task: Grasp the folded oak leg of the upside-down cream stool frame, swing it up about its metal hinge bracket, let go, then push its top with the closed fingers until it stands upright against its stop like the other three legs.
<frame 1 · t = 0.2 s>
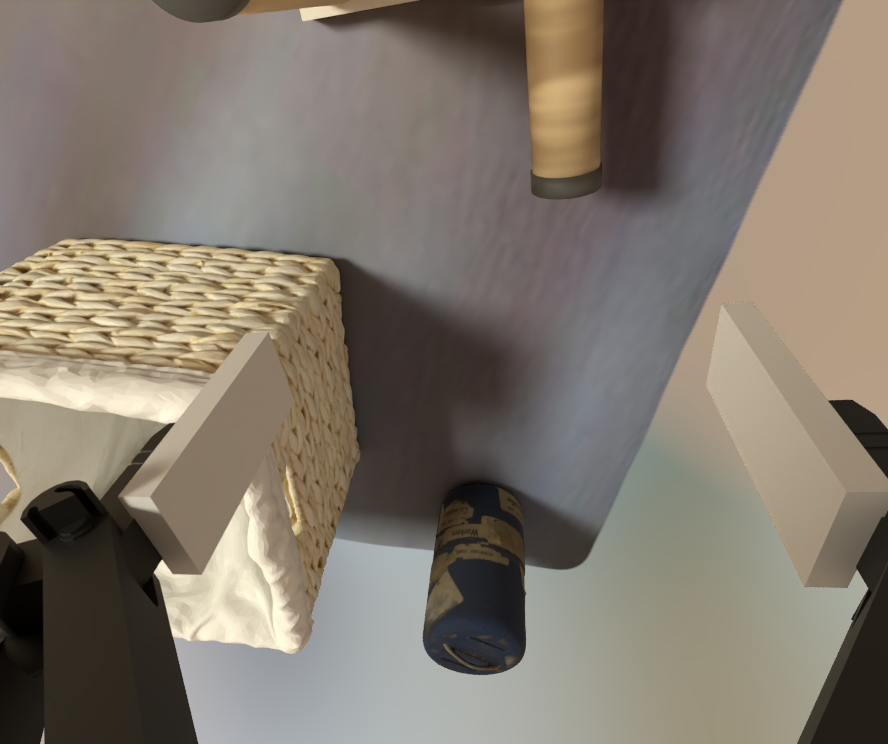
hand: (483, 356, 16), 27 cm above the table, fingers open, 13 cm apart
basket: (228, 359, 52), on the table
hinged leg: (564, 52, 28), point 7 cm above the table, hinge at 0.0°
canister: (481, 504, 61), on the table
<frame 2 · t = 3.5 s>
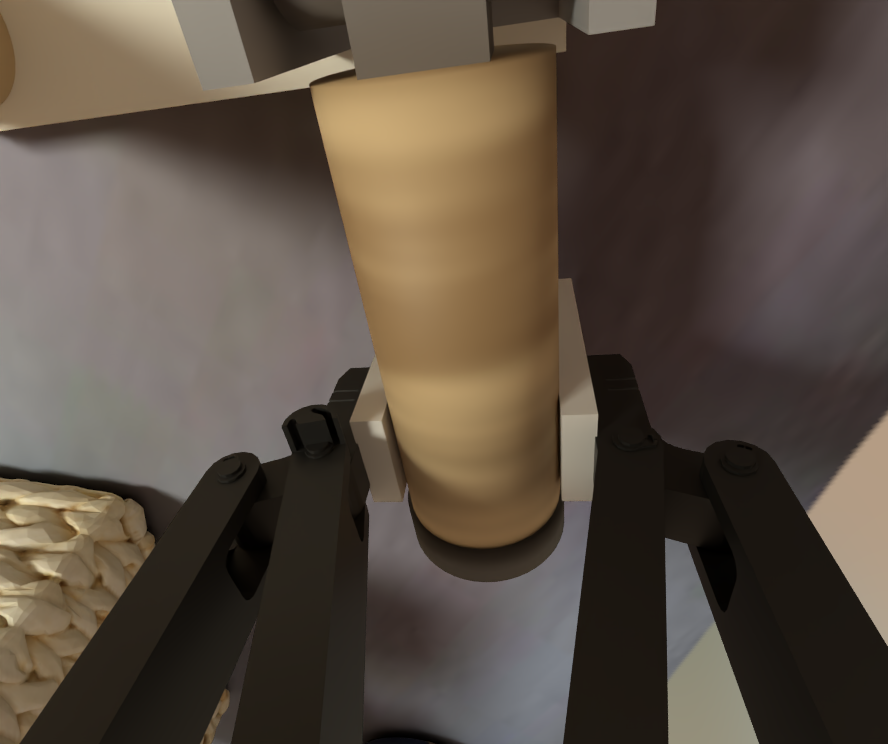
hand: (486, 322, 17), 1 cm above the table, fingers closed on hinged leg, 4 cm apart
basket: (13, 584, 34), on the table
hinged leg: (458, 283, 11), point 6 cm above the table, hinge at 0.0°, touching gripper
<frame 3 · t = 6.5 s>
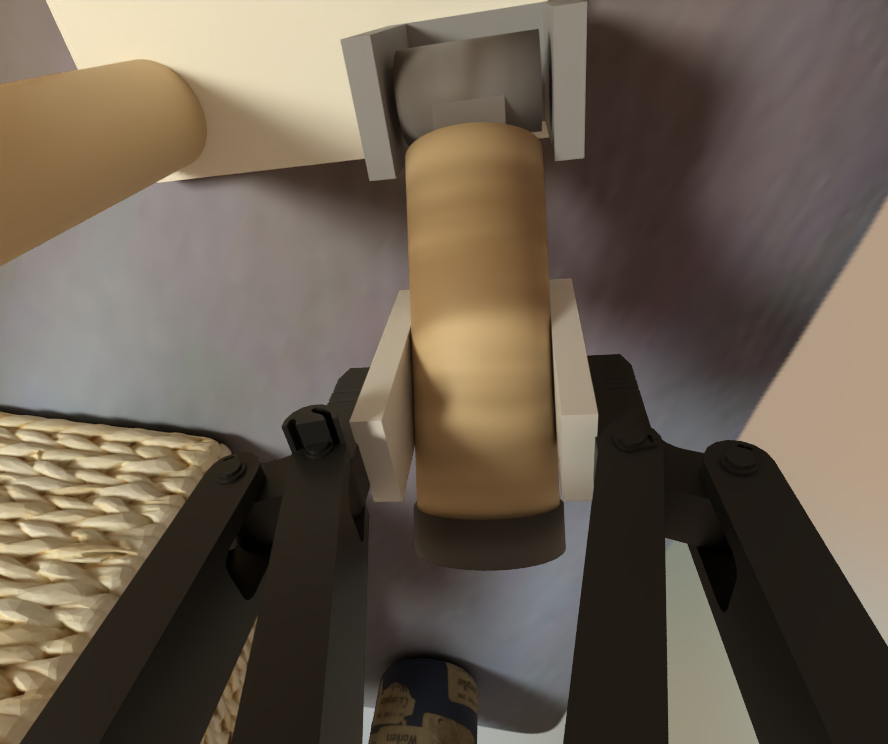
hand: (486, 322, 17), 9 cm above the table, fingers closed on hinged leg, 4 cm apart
basket: (110, 523, 43), on the table
hinged leg: (479, 291, 15), point 10 cm above the table, hinge at 38.0°, touching gripper
canister: (431, 671, 51), on the table
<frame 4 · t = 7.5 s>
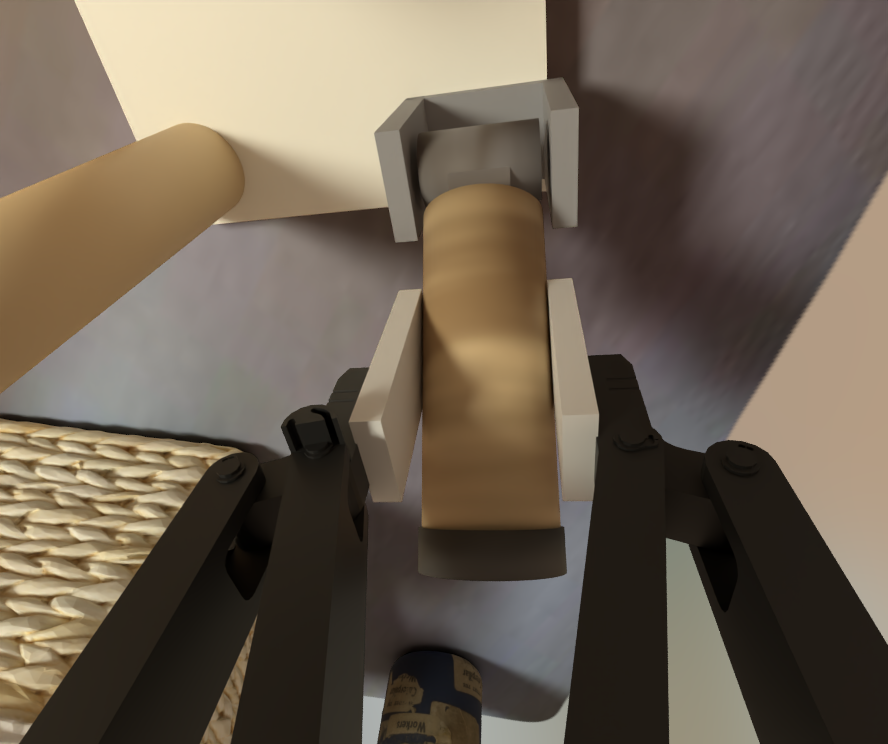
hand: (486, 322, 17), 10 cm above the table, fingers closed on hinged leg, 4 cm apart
basket: (137, 525, 45), on the table
hinged leg: (485, 329, 17), point 11 cm above the table, hinge at 50.0°, touching gripper
canister: (437, 663, 54), on the table
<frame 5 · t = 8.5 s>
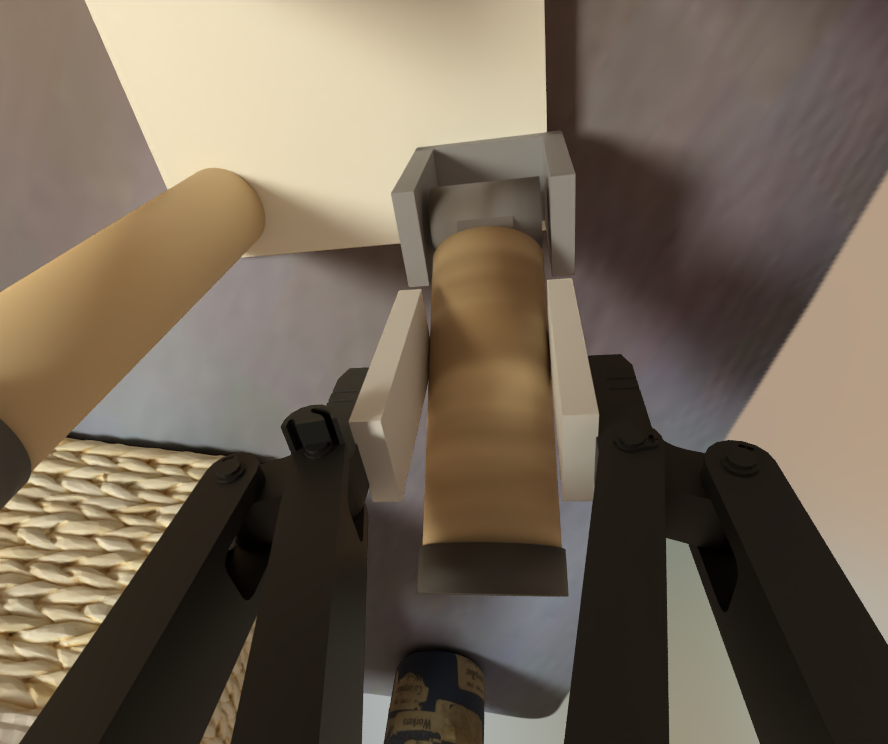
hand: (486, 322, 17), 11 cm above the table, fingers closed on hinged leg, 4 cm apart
basket: (154, 531, 47), on the table
hinged leg: (488, 360, 18), point 12 cm above the table, hinge at 59.9°, touching gripper
canister: (441, 663, 56), on the table
stool seat: (327, 29, 23), on the table
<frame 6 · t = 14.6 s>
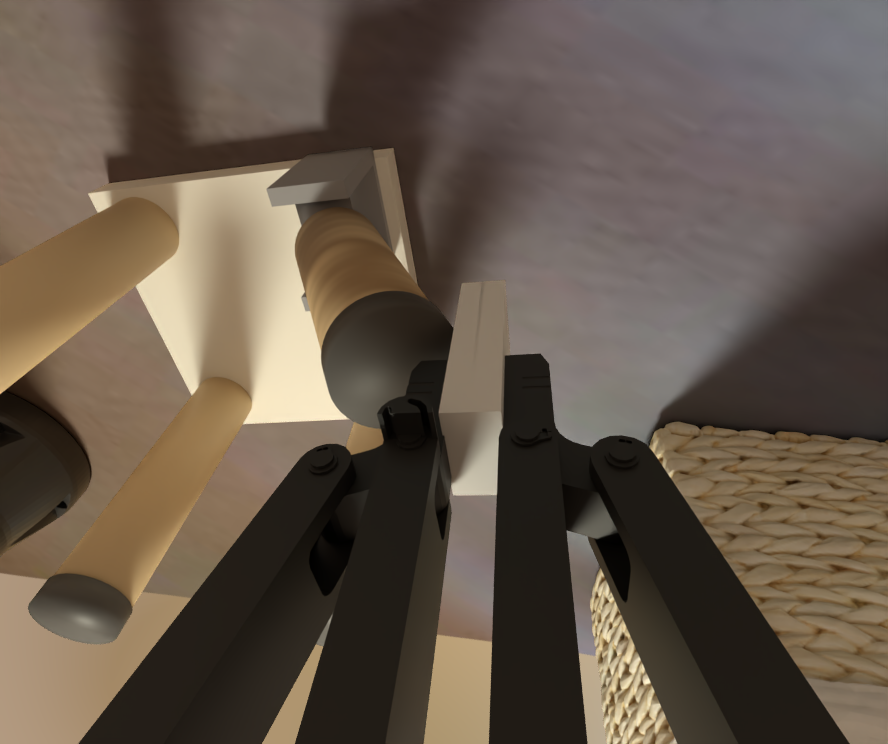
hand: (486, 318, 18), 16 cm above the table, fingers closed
basket: (755, 534, 46), on the table
hinged leg: (354, 281, 22), point 12 cm above the table, hinge at 66.3°, touching gripper
stool seat: (290, 301, 36), on the table
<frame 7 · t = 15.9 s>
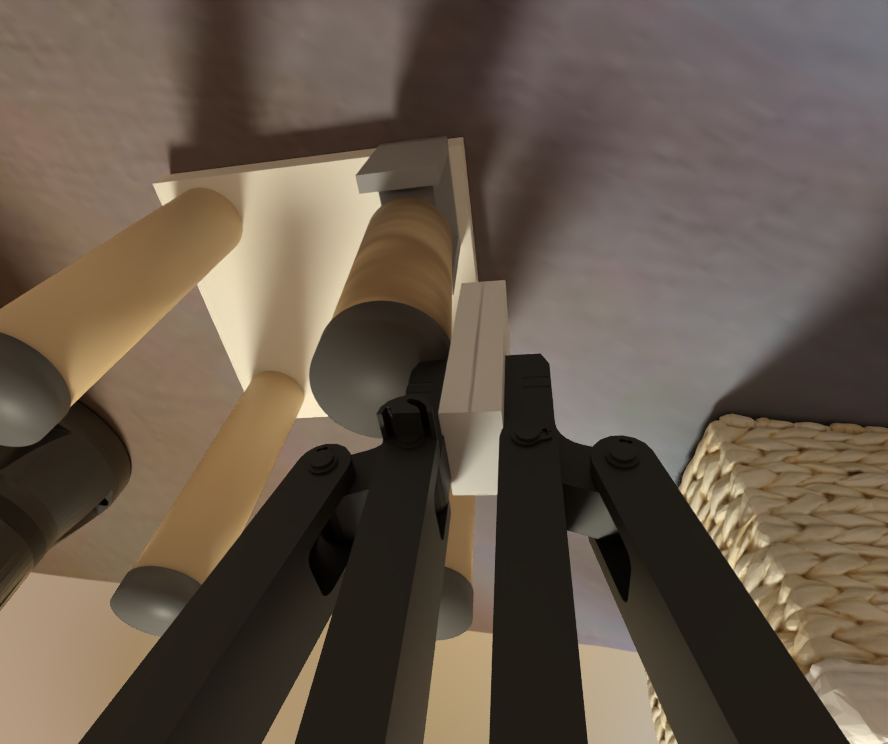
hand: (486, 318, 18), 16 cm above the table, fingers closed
basket: (800, 527, 46), on the table
hinged leg: (402, 277, 21), point 12 cm above the table, hinge at 86.4°, touching gripper
stool seat: (347, 294, 36), on the table
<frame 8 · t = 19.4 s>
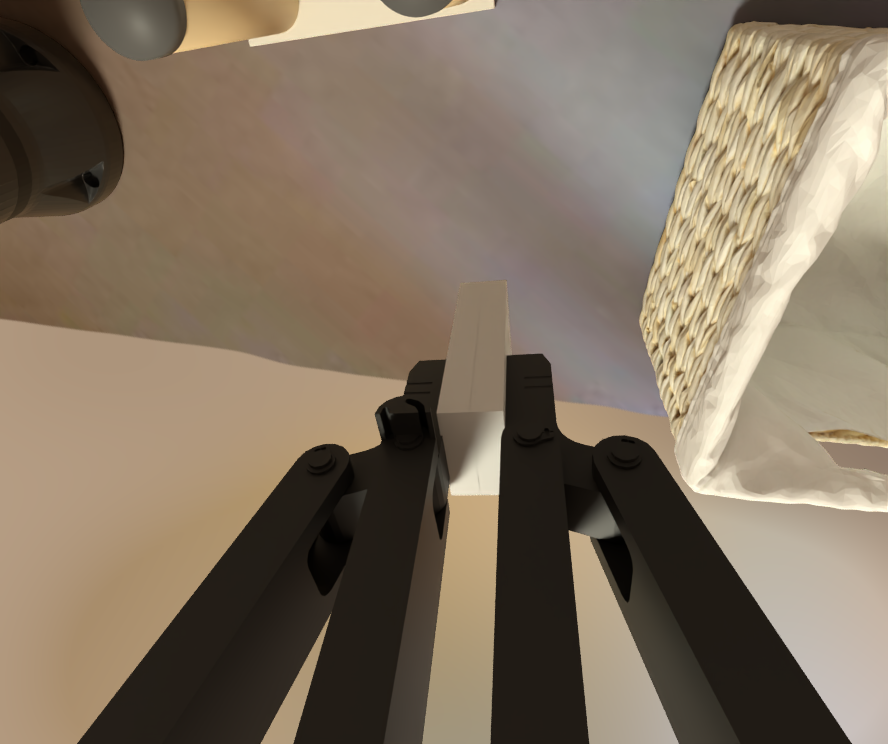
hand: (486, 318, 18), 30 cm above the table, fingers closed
basket: (822, 211, 44), on the table
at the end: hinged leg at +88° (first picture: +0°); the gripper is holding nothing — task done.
